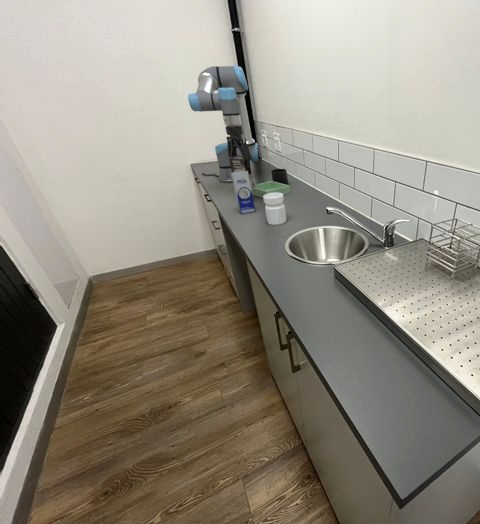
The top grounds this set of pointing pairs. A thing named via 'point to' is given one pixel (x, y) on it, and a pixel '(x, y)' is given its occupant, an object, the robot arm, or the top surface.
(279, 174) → the mug
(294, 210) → the top surface
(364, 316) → the top surface
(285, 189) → the bin
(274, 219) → the white pill bottle
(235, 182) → the milk carton
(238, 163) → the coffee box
